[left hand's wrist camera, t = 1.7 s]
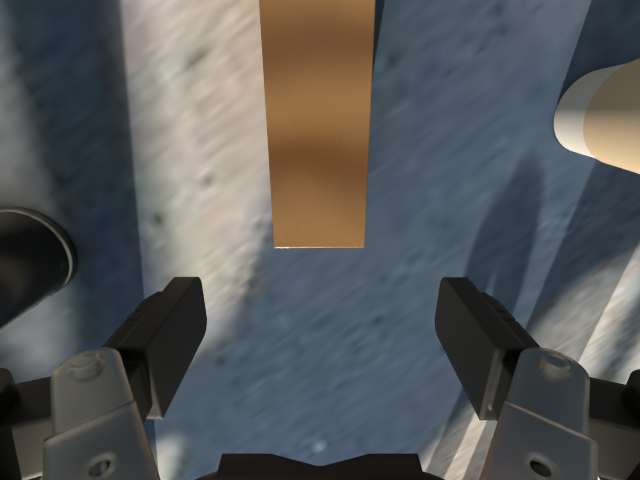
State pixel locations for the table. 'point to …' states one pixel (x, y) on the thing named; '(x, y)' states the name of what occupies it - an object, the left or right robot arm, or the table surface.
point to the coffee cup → (603, 116)
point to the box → (318, 118)
